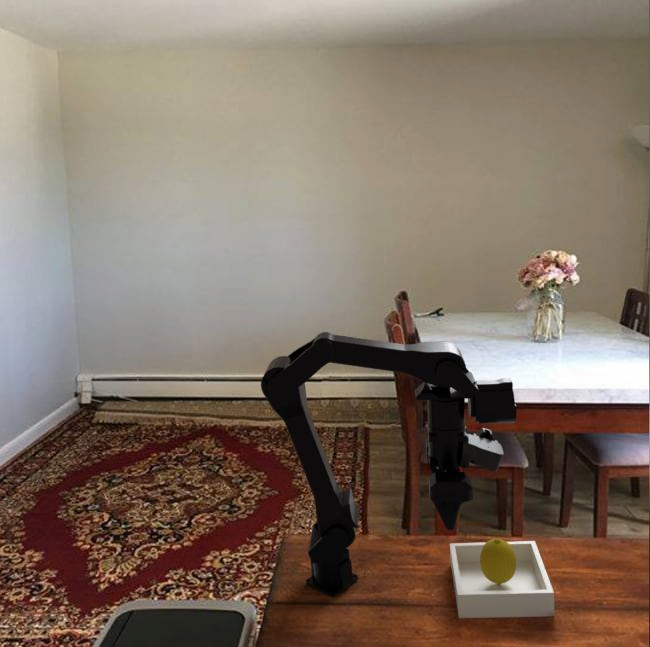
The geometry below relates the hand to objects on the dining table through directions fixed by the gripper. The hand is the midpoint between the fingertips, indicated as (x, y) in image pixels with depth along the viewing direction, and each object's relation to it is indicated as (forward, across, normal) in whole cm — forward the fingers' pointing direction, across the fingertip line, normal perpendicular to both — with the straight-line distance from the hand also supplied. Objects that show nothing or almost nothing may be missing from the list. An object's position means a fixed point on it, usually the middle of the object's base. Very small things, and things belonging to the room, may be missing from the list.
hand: (448, 514), depth 112 cm
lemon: (+11, -3, -8) cm, 13 cm away
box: (+11, -3, -8) cm, 14 cm away
